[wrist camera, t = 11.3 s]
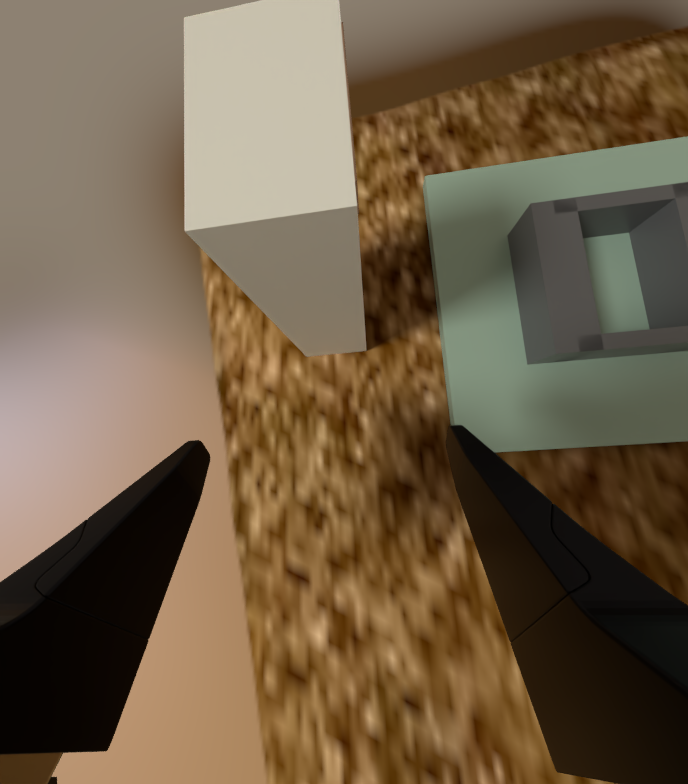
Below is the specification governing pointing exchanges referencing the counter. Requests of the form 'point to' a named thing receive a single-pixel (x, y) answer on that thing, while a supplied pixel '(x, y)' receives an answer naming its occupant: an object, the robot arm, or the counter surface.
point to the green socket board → (565, 297)
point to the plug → (276, 165)
